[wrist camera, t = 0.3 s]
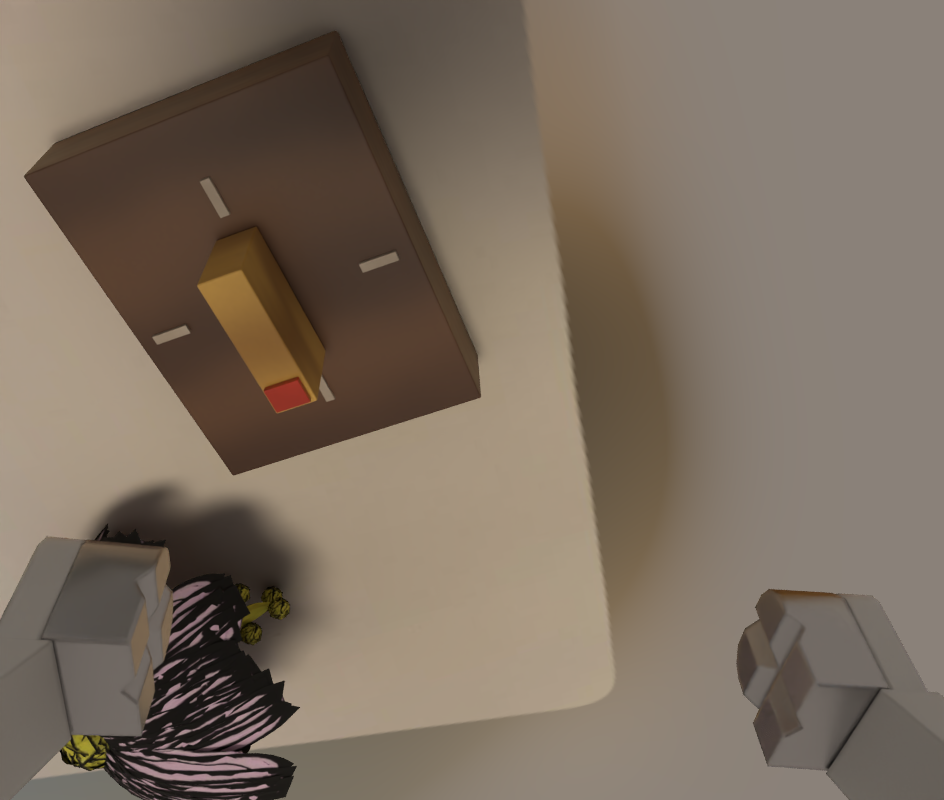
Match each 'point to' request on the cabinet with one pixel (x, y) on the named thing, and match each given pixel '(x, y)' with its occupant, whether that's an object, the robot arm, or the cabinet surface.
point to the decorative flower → (201, 703)
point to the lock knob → (263, 319)
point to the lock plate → (288, 238)
